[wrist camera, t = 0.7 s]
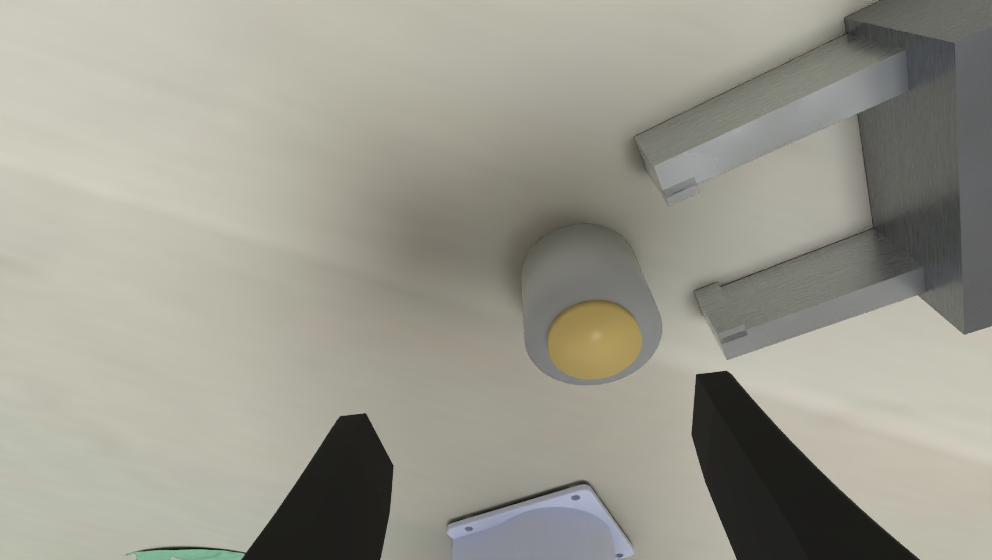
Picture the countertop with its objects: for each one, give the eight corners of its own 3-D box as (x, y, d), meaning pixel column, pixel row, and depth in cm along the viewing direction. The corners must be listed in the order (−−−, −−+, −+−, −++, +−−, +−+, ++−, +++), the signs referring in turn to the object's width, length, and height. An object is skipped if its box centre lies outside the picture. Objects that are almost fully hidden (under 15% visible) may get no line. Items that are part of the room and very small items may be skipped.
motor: (706, 323, 22) (748, 402, 19) (629, 124, 18) (664, 175, 14) (1138, 166, 18) (1307, 226, 14) (1193, -155, 13) (1471, -192, 10)
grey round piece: (550, 334, 23) (559, 410, 19) (500, 253, 21) (500, 323, 17) (652, 294, 22) (683, 367, 18) (612, 203, 19) (638, 266, 16)
